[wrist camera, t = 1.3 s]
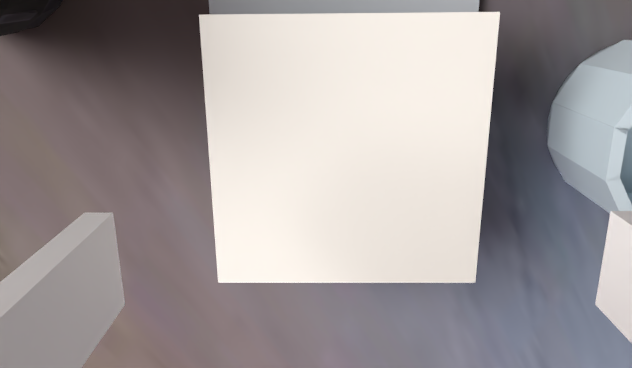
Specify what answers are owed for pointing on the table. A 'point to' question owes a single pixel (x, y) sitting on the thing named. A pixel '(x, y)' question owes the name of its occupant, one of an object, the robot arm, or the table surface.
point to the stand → (339, 6)
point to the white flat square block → (348, 144)
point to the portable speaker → (24, 14)
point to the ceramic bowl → (596, 128)
